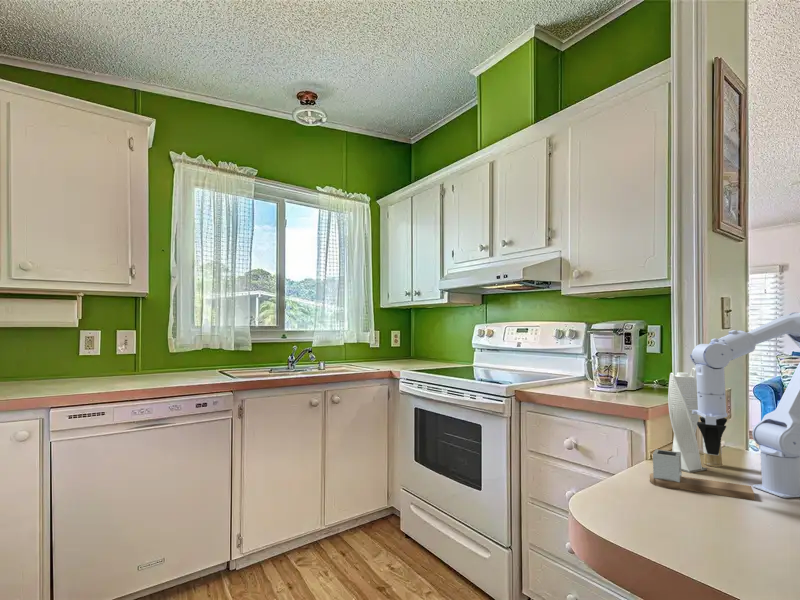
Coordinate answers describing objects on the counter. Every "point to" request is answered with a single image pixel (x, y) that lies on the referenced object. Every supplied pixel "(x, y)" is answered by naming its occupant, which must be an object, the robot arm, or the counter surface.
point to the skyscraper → (684, 419)
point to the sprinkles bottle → (712, 457)
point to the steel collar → (667, 465)
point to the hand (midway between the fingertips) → (713, 450)
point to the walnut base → (707, 487)
